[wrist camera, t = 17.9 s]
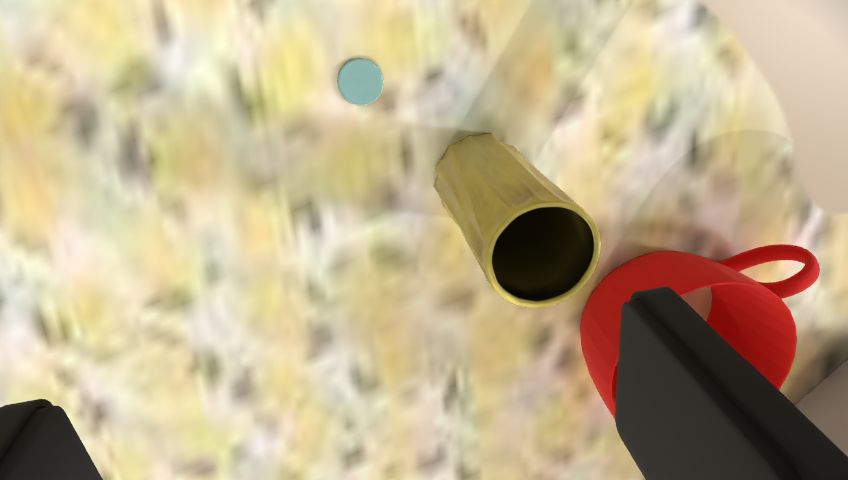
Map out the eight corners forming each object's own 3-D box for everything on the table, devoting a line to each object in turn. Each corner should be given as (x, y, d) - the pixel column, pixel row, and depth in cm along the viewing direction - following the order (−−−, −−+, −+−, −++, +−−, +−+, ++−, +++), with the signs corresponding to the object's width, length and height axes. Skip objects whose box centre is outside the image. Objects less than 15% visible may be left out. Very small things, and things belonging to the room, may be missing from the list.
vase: (414, 140, 36) (459, 218, 23) (503, 110, 36) (599, 169, 23) (441, 223, 38) (495, 335, 25) (524, 194, 38) (621, 291, 25)
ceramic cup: (769, 271, 46) (877, 337, 37) (601, 388, 48) (663, 478, 39) (705, 154, 41) (811, 197, 32) (521, 292, 43) (571, 369, 34)
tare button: (334, 58, 32) (333, 62, 31) (378, 53, 32) (380, 56, 31) (341, 103, 33) (341, 108, 32) (384, 97, 33) (386, 102, 32)
